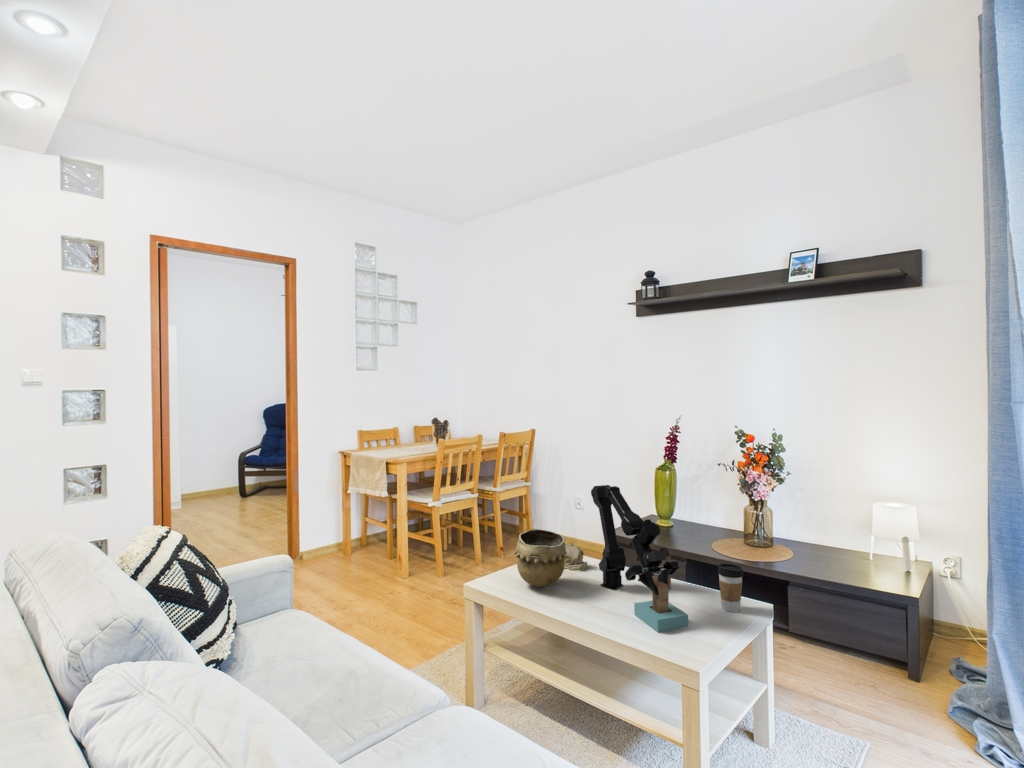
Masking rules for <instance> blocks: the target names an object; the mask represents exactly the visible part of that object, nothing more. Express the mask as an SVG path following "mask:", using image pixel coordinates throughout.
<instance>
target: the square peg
mask: <svg viewBox="0 0 1024 768" xmlns="http://www.w3.org/2000/svg"><path fill="white" fill-rule="evenodd" d="M654 583H655V585H656V588H657V590H658V593H659V595H655V594H654V593H653V592H652V600H653V610H654V611H656V612H657V613H658V614H659V613H665V612H669V610H668V602H669V593H668V590H669V589H668V585H667V584H665V583H663V582H662V581H661V582H654Z"/></svg>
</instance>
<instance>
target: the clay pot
mask: <svg viewBox="0 0 1024 768" xmlns="http://www.w3.org/2000/svg"><path fill="white" fill-rule="evenodd" d="M565 549H566V548H565V539H564V536H563V535H562V534H560V533H558V532H554V531H552V530H551V531H550V530H546V529H542V528H538V529H535V528H533V529H530V530H527V531H525V532H521V533H519V536H518V539H517V544H516V548H515V551H514V552H513V553H514V555H515V558H516V559H517V562H516V565H517V570H518V573H519V575H520V577H521V578H522V580H523V581H524V582H526V583H527V584H529V585H530V586H534V587H537V588H544V587H545V588H546V587H549V586H551V585H553V584H555V582H557V581H558V580H559V579H560V578H561V576H562V575H563V572H564V570H565V569H564V558H565V557H566V556H565V555H566V554H567V552H566V550H565Z"/></svg>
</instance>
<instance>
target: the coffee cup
mask: <svg viewBox="0 0 1024 768" xmlns="http://www.w3.org/2000/svg"><path fill="white" fill-rule="evenodd" d="M743 570H744V569H743V567H742V566H740V565H738V564H732V563H719V564H718V569H717V573H718V577H719V578H718V582H719V583H718V584H719V593H720V603H721V609H722V610H723V609H724V611H725V610H726V612H728V611H730V612H729V613H738V612H740V611H739V610H741V601H742V589H743V577H744V571H743Z"/></svg>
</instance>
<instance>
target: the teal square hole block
mask: <svg viewBox="0 0 1024 768" xmlns="http://www.w3.org/2000/svg"><path fill="white" fill-rule="evenodd" d="M633 603H634V604H633V605H634V606H633V607H634V608H633V609H634V611H633V612H634V616H635V617H636V618H637V619H639V620H640V621H642V622H643V623H644V624H646V625H647V626H649V627H650V628H651V629H653V630H654V631H655V632H656V633H662V632H668V631H674V630H679V629H685V628H689V614H688V613H687V612H685V611H683V610H682V609H680V608H678V607H677V606H675V605H674V604H672V603H670V602H669V601H668V610H669V612H665V613H659V614H658V613H657V612H656V611H654V610H653V599H652V600H647V601H642V602H633Z"/></svg>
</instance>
